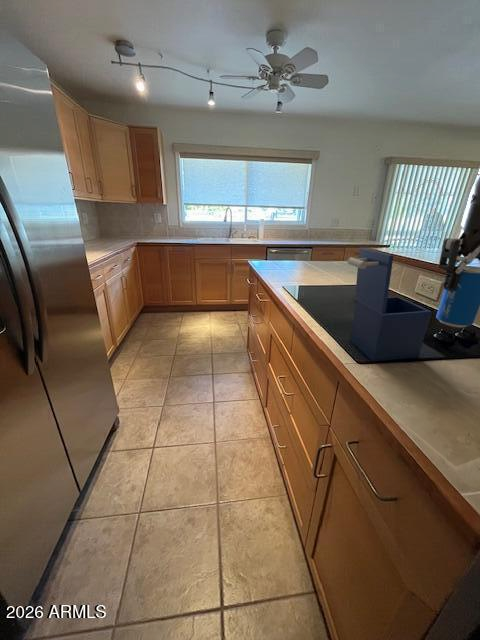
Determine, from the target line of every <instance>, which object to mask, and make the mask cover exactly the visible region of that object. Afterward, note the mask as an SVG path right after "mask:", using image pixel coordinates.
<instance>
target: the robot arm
mask: <svg viewBox="0 0 480 640" xmlns="http://www.w3.org/2000/svg"><path fill="white" fill-rule="evenodd" d="M460 228H461V229H462V232H461V234H460V236H459V237H457V238H450V237H448V238H447V237H446V238H445V239H444V240H443V243H442V248H441V253H440V257H439V263H438V269H441V270H444V271H446V274H445V278H444V280H443V285H442V287H443V290H444V289H445V290H448V291H455V290H456V288H457V285H458V282H459V279H460V275H461V274H459V273H461V271H462V270H463V269H464V268H465V266H468V265H470V264H471V263H473V261H474V260H475V259H477V260H478V261H479V262H480V167H478V171H477V175H476V178H475V180H474V182H473V184H472V186H471V189H470V192H469V196H468V199H467V203H466V206H465V209H464V212H463V216H462V220H461V223H460ZM456 266H457V267H456Z"/></svg>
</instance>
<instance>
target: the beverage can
mask: <svg viewBox="0 0 480 640" xmlns="http://www.w3.org/2000/svg"><path fill="white" fill-rule="evenodd" d="M457 266H458V265H456V267H457ZM459 274H461V275H460V279H459V282H458V285H457V288H456V290H455V291H448V290H445V289H444V288H443V293H442V296H441V299H440V303H439V306H438V309H437V313H436V316H435V317H436V319H437V320H439V322H440V323H441V324H443V325H445V326H448V327H452V328H466V327H468V326H472V325H473V324H474V322H475V320H476V317H477V314H478V311H479V309H480V266H473V265H466V266H465V268H464V269H463V270H462V271H461V273H459Z"/></svg>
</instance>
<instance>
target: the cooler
mask: <svg viewBox="0 0 480 640" xmlns="http://www.w3.org/2000/svg"><path fill="white" fill-rule="evenodd" d="M432 313H433V311H431V310H430V309H427V308H425V307H423V306H421V305H418V304H416V303H414V302H412V301H410V300H408V299H405V298H403V297H401V296H399V295H397V296H388V298H387V304H386V311H385V313H380V312H378V311H377V310H375V309H373V308H372V307H370V306H368V305H367V304H365V303H363V302H362V301H360V300H358V299H357V298H355V305H354V310H353V315H352V316H353V318H352V322H351V328H350V333H349V341H350V342H351V343H352V344H353V345H354V346H355V347H356V348H357V349H358V350H359V351H360V352H362V353H363V354H364V355H365V356H366V358H368V359H370V361H372V362H373V363H374V362H383V361H393V360H395V361H396V360H404V359H414V358H419V356H420V353H421V349H422V345H423V344H424V340H425V337H426V332H427V329H428V326H429V323H430V319H431V315H432Z"/></svg>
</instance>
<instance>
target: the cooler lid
mask: <svg viewBox="0 0 480 640" xmlns="http://www.w3.org/2000/svg"><path fill="white" fill-rule="evenodd" d="M393 262H394V255H393V254H390V253H386V252H382V251H379V250H374V249H372V248H371V249H370V248H367V247H359V251H358V258H356V257H352V256H351V257H349V258H347V264H348V265H350V266H353V267H356V268H357V272H356V283H355V293H354V298H355V299H358V300H360V301H362V302H363V303H365V304H367V305H368V306H370V307H372V308H373V309H375V310H377V311H378V312H380V313H385V311H386V304H387V298H388V297H389V292H390V291H389V290H390V285H391V284H390V283H391V277H392V271H393V264H394V263H393Z"/></svg>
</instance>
